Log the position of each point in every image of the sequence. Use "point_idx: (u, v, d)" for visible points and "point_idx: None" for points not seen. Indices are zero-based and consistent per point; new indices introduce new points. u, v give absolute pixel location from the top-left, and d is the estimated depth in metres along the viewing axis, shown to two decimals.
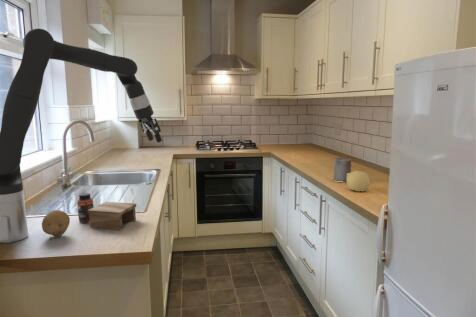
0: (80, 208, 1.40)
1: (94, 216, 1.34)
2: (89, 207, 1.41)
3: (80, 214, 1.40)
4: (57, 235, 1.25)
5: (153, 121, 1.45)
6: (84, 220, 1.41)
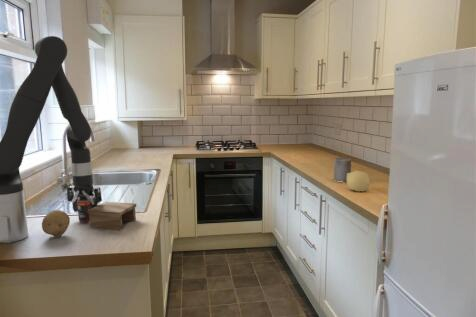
0: (80, 208, 1.40)
1: (94, 216, 1.34)
2: (89, 207, 1.41)
3: (80, 214, 1.40)
4: (57, 235, 1.25)
5: (98, 190, 1.40)
6: (84, 220, 1.41)
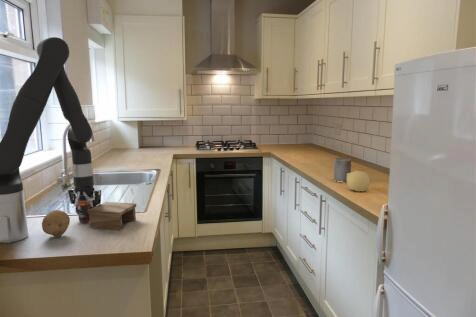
0: (80, 208, 1.40)
1: (94, 216, 1.34)
2: (89, 207, 1.41)
3: (80, 214, 1.40)
4: (57, 235, 1.25)
5: (99, 193, 1.40)
6: (84, 220, 1.41)
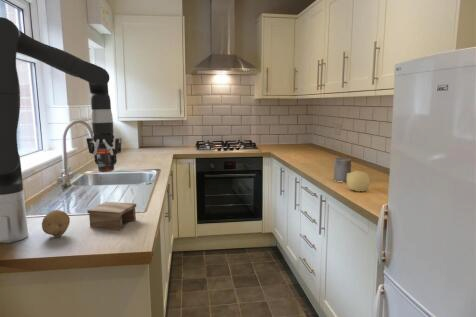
0: (100, 156, 1.33)
1: (94, 216, 1.34)
2: (109, 156, 1.34)
3: (100, 163, 1.34)
4: (57, 235, 1.25)
5: (119, 140, 1.34)
6: (104, 169, 1.34)
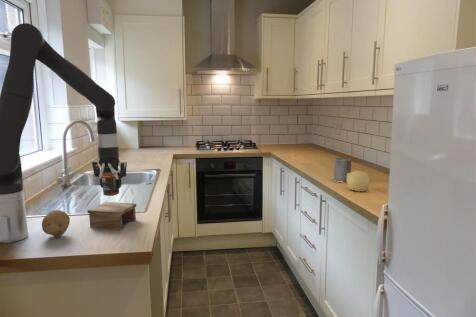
0: (105, 180, 1.34)
1: (94, 216, 1.34)
2: (114, 180, 1.35)
3: (105, 187, 1.34)
4: (57, 235, 1.25)
5: (124, 164, 1.34)
6: (109, 193, 1.35)
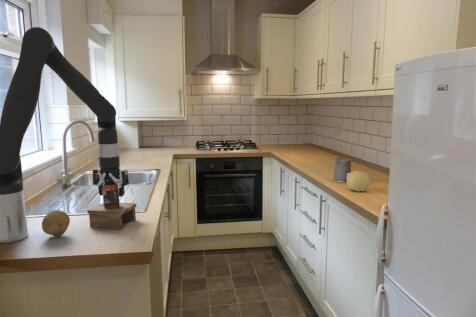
0: (105, 193, 1.35)
1: (94, 216, 1.34)
2: (115, 192, 1.36)
3: (105, 200, 1.35)
4: (57, 235, 1.25)
5: (125, 172, 1.34)
6: (109, 206, 1.35)
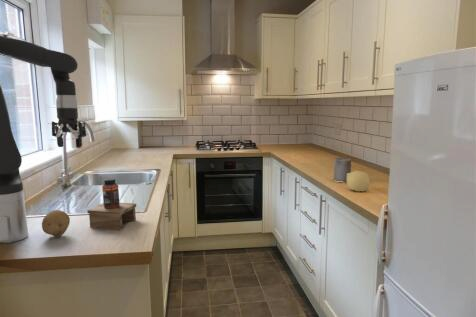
0: (105, 193, 1.35)
1: (94, 216, 1.34)
2: (115, 192, 1.36)
3: (105, 200, 1.35)
4: (57, 235, 1.25)
5: (82, 123, 1.38)
6: (109, 206, 1.35)
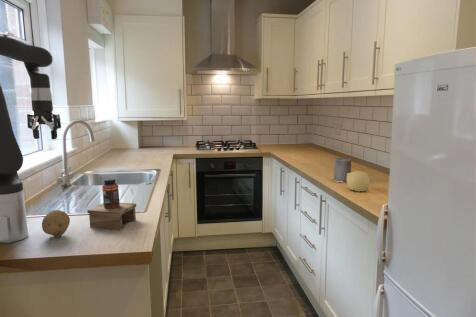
0: (105, 193, 1.35)
1: (94, 216, 1.34)
2: (115, 192, 1.36)
3: (105, 200, 1.35)
4: (57, 235, 1.25)
5: (57, 115, 1.42)
6: (109, 206, 1.35)
